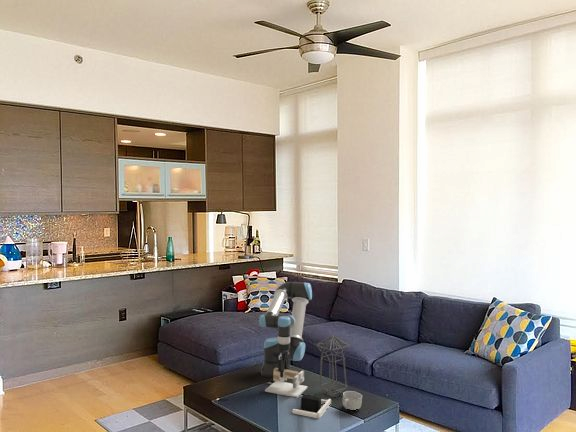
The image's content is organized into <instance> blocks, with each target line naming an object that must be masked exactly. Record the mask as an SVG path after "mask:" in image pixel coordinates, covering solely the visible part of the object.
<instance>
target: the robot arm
mask: <svg viewBox="0 0 576 432" xmlns="http://www.w3.org/2000/svg"><path fill="white" fill-rule="evenodd" d="M312 298H313V291H312V285H311V283H309V282H304V281H303V282H300V281H286V282H283V283H282V284H280V285H279V286H278V287H277V288H276V289H275V291H274V292H273V299H272V301H271V302H270V304H269V307H268V309H267V311H266V313H265V314H261V315H260V316H259V318H258V325H259V326H260V327H262V328H271V329H277V337H276V336H274V337H269V338H267V339H265V340H264V343H263V363H262V367H261V369H260V375H261V376H262V377H265V378H271V379H273V372H274V369H275V368H278V371H279V372H280V380H279V381H280V382H283V383H284V382H287V381H288V378H285V372H284V369H286V370H290V368H289V367H290V361H295V362H296V361H299V362H300V361H302V359H303V357H304V355H305V351H306V343H305V342H304V339H303V336H302V335H303V331H304V323H305V315H306V310H307V309H306V307H307V305H308V304H309V301H311V300H313V299H312ZM287 299H291V301H292V302H293V306H292V313H291V315H290V314H289V315H286V316H285V315H279V314H280V311H281V309H282V307H283V305H284V304H285V301H286V300H287Z"/></svg>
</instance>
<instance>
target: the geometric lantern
mask: <svg viewBox="0 0 576 432" xmlns="http://www.w3.org/2000/svg"><path fill="white" fill-rule="evenodd" d="M315 346H316V348H317V349H318V350H319V351H320V352H321V355H320V366H319V368H320V371H319V374H320V375H319V388H321V389H322V390H323V391H324V392H325V393H326V392H327V394H328V393H329V394H331V395H333V397H334V396H335V397H336V394H340V393H344V392H345V390H347V389H348V387H347V373H346V372H347V370H346V357H345V356H344V351H345V350H346V349H348V348H349V347H350V346H351V344H349V343H347V342H346V341H345V340H342V339H341V338H339V337H337V336H336V335H330V336H329V337H327V338H325V339H322V340H321V341H319V342H317V343H315ZM342 346H343V347H342ZM332 347H333V348H332ZM325 350H326V351H325ZM340 350H341V351H340ZM332 351H333V352H334V353H333V352H332ZM328 352H329V353H330V354H328ZM324 354H325V355H324ZM339 354H341V355H339ZM329 356H331V359H330V357H329ZM337 356H338V357H340V358H341V359H337ZM325 357H326V358H327V359H326V358H325ZM323 360H325V361H327V362H328V363H329V365H328V366H329V371H328V372H329V376H328V377H329V381H328V382H325V383H322V375H323V374H322V372H323ZM339 361H342V363H343V372H344V384H343V383H341V382H339V381H338V380H337V379H338V378H337V372H335V371H337V362H339ZM334 365H335V366H334ZM334 367H335V370H334ZM331 379H332V380H331ZM327 384H329V385H328V386H329V388H325V387H323V386H325V385H327ZM337 384H339V385H342V386H343V387H342V388H338V387H336V385H337ZM331 390H334V391H331ZM335 390H336V391H338V392H336V391H335ZM328 391H329V392H328ZM339 392H340V393H339Z"/></svg>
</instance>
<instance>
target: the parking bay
mask: <svg viewBox="0 0 576 432" xmlns="http://www.w3.org/2000/svg"><path fill="white" fill-rule="evenodd" d="M321 403H325V404H323V405H321V409H320V410H319V411H318V412H317V413H315V412H310V411H305V410H301V409H296V408H293V409H292V414H295V415H300V416H305V417H309V418H315V419H320V418H321V417H322V416H323V415H324V414H325V413H326V411H327V410H328V409H329V407H330V406H331V405H332V399H331V398H328V399H322V398H321ZM330 404H331V405H330ZM329 405H330V406H329ZM327 408H328V409H327ZM326 409H327V410H326Z"/></svg>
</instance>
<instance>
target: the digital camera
mask: <svg viewBox="0 0 576 432" xmlns="http://www.w3.org/2000/svg"><path fill="white" fill-rule="evenodd" d="M321 399H322V397H320V396H314V395H310V394H303V395H302V396H301V397H300V410H303V411H308V412H312V413H317V412H318V411H319V410H320V409H321V408H322V404H321Z"/></svg>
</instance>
